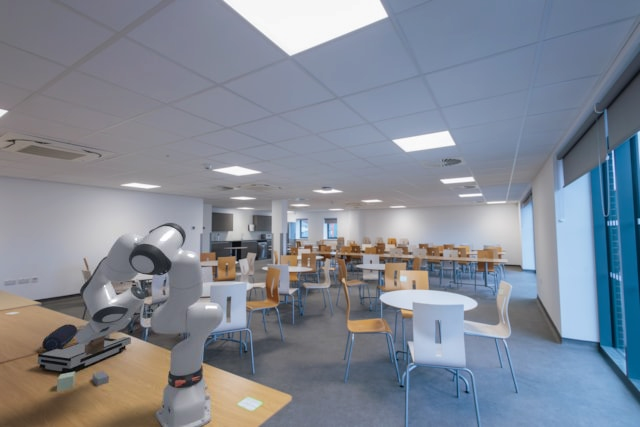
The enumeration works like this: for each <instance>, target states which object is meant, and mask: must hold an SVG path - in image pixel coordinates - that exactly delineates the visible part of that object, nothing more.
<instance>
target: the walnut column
mask: <svg viewBox="0 0 640 427" xmlns="http://www.w3.org/2000/svg"><path fill="white" fill-rule="evenodd" d="M104 338H105V336H102V337H99V338H96V339H94V340H92V342H91V343H90V344H88V345H85V351H84V353H87V354H95V353H97V352H100V351H102V350H104Z"/></svg>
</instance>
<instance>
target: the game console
mask: <svg viewBox="0 0 640 427" xmlns="http://www.w3.org/2000/svg"><path fill="white" fill-rule="evenodd" d="M110 336H111V334H109V335H108V336H106V337H105V338H104V350H102V351H100V352H97V353H95V354H87V353H84V351H85V343H83V344H79V343H78V342H76V343H73V344H71V345H69V346H64V347H62V348H60V349H52V350H49V351H47V350H45V351H44V352H40V353H38V354H37V365H39V368H41V369H44V370H47V371H58V372H64V373H70V372H75V374H76V373H79V372H80V371H83V370H85V369H87V368H89V367H91V366H94V365H96V364H99V363H101V362H103V361H105V360H108V359H111V358H112V357H114V356H117V355H119V354H122V351H123V350H125V349H126V347H127V346H128V345H130V344H132V337H129V336H123V337H120V338H117V339H116V338H110Z"/></svg>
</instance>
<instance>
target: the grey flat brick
mask: <svg viewBox="0 0 640 427" xmlns="http://www.w3.org/2000/svg"><path fill="white" fill-rule="evenodd" d="M109 380H110V376H109V375H108V374H107V373H106V372H105V371H104V370H102V371H101V370H100V371H99V372H95V373H92V380H91V381H92V382H93V383H94V385H96V386H97V387H99V386H103V385H105V384H108V383H109Z"/></svg>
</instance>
